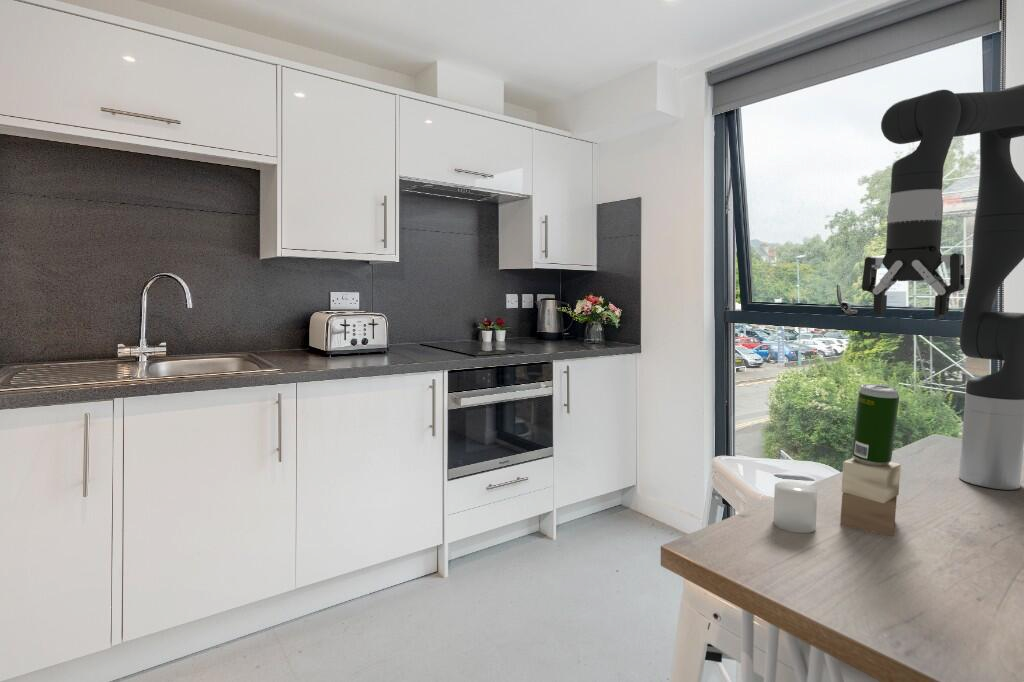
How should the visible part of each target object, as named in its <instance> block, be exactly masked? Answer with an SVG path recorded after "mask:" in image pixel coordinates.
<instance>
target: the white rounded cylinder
mask: <svg viewBox="0 0 1024 682" xmlns="http://www.w3.org/2000/svg"><path fill="white" fill-rule="evenodd" d="M773 492H774V493H773V494H774V495H773V496H774V497H773V524H774V526H775V527H778V528H779V529H781V530H783V531H786V532H790V533H797V534H809V533H813V532H815V531H816V530H817V508H818V490H817V488H815V486H812V485H809V484H806V483H802V482H797V481H795V482H794V481H780V482H777V483H775V484H774V491H773Z"/></svg>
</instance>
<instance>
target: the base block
mask: <svg viewBox="0 0 1024 682" xmlns="http://www.w3.org/2000/svg"><path fill="white" fill-rule="evenodd" d="M897 498H898V496H896V497H894V498H892V499H890V500H889V501H887V502H885V503H881V502H877V501H873V500H869V499H866V498H862V497H858V496H854V495H851V494H847V493H843V492H842V496H841V509H840V522H839V523H840V526H843V525H844V527H848V528H849V527H850V528H853V527H854V529H857V528H859V529H858V530H862V529H863V531H867V530H868V531H867V532H871V531H872V532H873V533H876V534H881V535H885V536H889V537H890V536H891V537H894V533H895V524H896V523H895V522H896V515H897V514H896V513H897V511H896V509H897Z"/></svg>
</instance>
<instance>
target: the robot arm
mask: <svg viewBox="0 0 1024 682" xmlns="http://www.w3.org/2000/svg"><path fill="white" fill-rule="evenodd" d="M880 129H881V132H882V134H883V136H884V138H885V139H886V140H888V141H889V142H890V143H893V144H897V145H905V144H910V143H916V142H919V143H918V146H917V147H916V149H915V150H914V151H912V152H911V153H908V154H907V155H904V156H902V157H900V158H898V159H896V160H895V161H894V162H893V165H892V166H891V167H892V168H891V176H890V178H891V179H890V195H889V200H888V201H889V202H888V207H887V215H886V241H885V242H886V243H885V255H884V256H883V257H876V256H867V257H865V259H864V263H863V264H864V265H863V272H862V283H861V290H862V291H864V292H868V293H871V294H872V295H873V309H872V310H873V313H874V314H875V315H876V317H886V315H887V305H888V304H887V301H888V295H887V294H886V293H887V292H888V290H889V289H890V288H891V287H892V286H893V285H895V284H896V283H897V282H909V281H913V282H923V281H925V282H926V283H927V284H928V285H929V286H931V288H932V289H933V290H934V291H935V293H936V294H937V295H934V310H933V311H934V312H933V313H934V314H933V318H934V319H944V317H945V316H947V315H948V314H949V312H950V311H949V309H950V296H951V295H952V294H953V293H956V292H961V291H963V290H965V288H966V285H965V284H966V282H965V278H966V277H965V274H966V273H965V271H966V270H965V268H966V267H965V265H966V264H965V255H964V254H963V253H960V252H959V253H955V252H953V253H951V254H946V255H943V254H942V252H941V247H942V246H941V245H942V244H941V243H942V229H943V214H944V213H943V212H944V199H943V183H944V181H943V180H944V165H945V162H946V160H947V156H948V153H949V151H950V147H951V145H952V142H953V139H954V138H955V137H966V136H971V135H977V134H979V178H978V179H979V180H978V191H977V201H976V208H975V209H976V210H975V214H974V224H973V233H972V248H971V249H972V251H971V265H970V271H969V272H970V273H969V279H968V280H969V282H968V287H967V292H966V298H965V301H964V302H965V303H964V306H963V307H964V308H963V312H962V318H961V323H960V324H961V325H960V329H959V345H960V346H959V347H960V350H961V352H962V353H963V354H964V355H965V356H966V357H969V358H974V359H982V360H983V359H984V360H993V361H1002V362H1003V364H1002V367H1001V368H1000V369H999V370H998V371H995V372H993V373H990V374H987V375H979V376H974V377H970V378H968V379H967V381H966V386H965V395H964V396H965V397H964V410H963V411H964V412H963V420H962V422H963V423H962V432H961V433H962V434H961V445H960V446H961V447H960V456H959V469H958V478H959V479H960V480H962V481H964V482H966V483H968V484H972V485H974V486H975V485H976V486H979V487H984V488H989V489H995V490H996V489H997V490H1008V491H1010V490H1011V491H1012V490H1019V488H1020V487H1021V480H1022V479H1021V478H1022V468H1023V458H1024V312H1009V311H1008V312H1006V311H1004V312H1003V311H992V310H993V309H992V308H993V304H994V300H995V297H996V295H997V292H998V290H999V289H1000V287H1001V285H1002V284H1003V282H1004V281H1005V280H1006V278H1007V277H1009V275H1010V274H1011V273H1012V272H1013V270H1015V268H1017V267H1018V265H1020V263H1021V262H1022V260H1024V180H1023V179H1022V178H1021V176H1020V175H1019V174H1018V173H1017V172H1018V171H1017V170H1016V168H1015V167H1014V165H1013V162H1012V156H1011V140H1012V139H1014V138H1019V137H1024V83H1022V84H1020V85H1016V86H1011V87H1006V88H1003V89H1001V90H995V91H979V92H978V91H977V92H976V91H975V92H960V93H959V92H954V91H951V90H950V89H937V90H933V91H930V92H926V93H924V94H923V93H922V94H920V95H916V96H913V97H912V96H911V97H910V98H909V97H908V98H905V99H902V100H899V101H897V102H895V103H893V104H892V105H891V106H889V107H888V109H886V111H885V112H884V114H883V116H882V118H881V121H880ZM943 263H944V264H945V266H946V268H949V283H950V284H949V285H948V284H947V283H946V282H945V281H944V278H943V277H942V276H941V274H939V272H938V271H937V269H938V268H939V267H940V266H941V265H942V264H943ZM882 265H883V267H885V269H886V270H887V271H886V273H884V275H883V276H882V277H881V278H880V281H879V282H878V283H877V284H876V282H877V275H878V274H877V273H878V270H879V269H881V266H882Z"/></svg>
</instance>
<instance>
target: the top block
mask: <svg viewBox="0 0 1024 682" xmlns="http://www.w3.org/2000/svg"><path fill="white" fill-rule="evenodd" d="M842 466H843V467H842V477H841V478H842V481H841V493H842V494H843V493H847V494H851V495H854V496H858V497H862V498H866V499H869V500H873V501H877V502H881V503H885V502H887V501H889V500H890V499H892V498H894V497H896V496H897V497H898V496H899V493H900V491H899V490H900V479H901V463H897V462H892V461H891V462H890V463H889V464H888V465H887V466H884V467H878V466H870V465H866V464H862V463H859V462H857V461H855V460H854V459H853V457H852V458H849V459H846V460H844V461H843V465H842Z"/></svg>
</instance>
